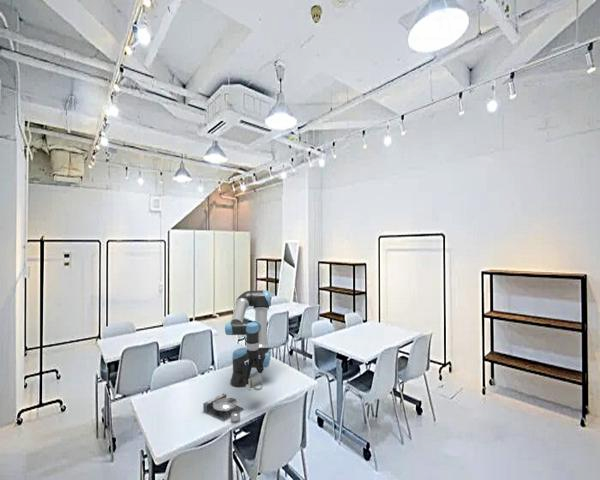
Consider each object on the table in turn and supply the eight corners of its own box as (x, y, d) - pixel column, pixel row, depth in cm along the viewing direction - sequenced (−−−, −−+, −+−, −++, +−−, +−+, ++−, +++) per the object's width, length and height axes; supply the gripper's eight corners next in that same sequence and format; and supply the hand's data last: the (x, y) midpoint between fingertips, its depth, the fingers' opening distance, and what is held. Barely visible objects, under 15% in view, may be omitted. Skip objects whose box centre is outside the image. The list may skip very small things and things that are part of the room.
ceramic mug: (244, 386, 198) (244, 374, 197) (255, 382, 203) (255, 370, 203) (255, 392, 190) (255, 379, 190) (266, 388, 196) (266, 375, 196)
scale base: (223, 401, 205) (223, 392, 205) (243, 409, 194) (243, 400, 194) (203, 411, 193) (203, 402, 193) (223, 421, 182) (223, 411, 182)
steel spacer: (235, 417, 186) (235, 410, 186) (242, 419, 183) (241, 412, 183) (229, 421, 182) (229, 414, 182) (235, 424, 179) (235, 416, 179)
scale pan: (226, 399, 202) (226, 395, 202) (242, 406, 194) (242, 401, 194) (207, 409, 191) (207, 404, 191) (223, 417, 183) (223, 412, 183)
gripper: (260, 343, 208) (261, 378, 209) (235, 353, 191) (236, 391, 191) (269, 345, 204) (270, 381, 204) (244, 355, 187) (245, 395, 187)
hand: (253, 386), depth 198 cm, fingers closed on ceramic mug, 9 cm apart
